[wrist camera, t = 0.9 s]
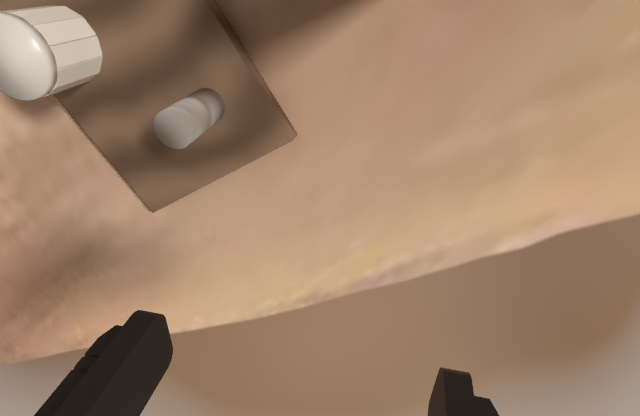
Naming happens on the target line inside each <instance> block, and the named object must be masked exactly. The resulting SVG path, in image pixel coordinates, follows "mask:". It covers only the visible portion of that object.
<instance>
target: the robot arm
mask: <svg viewBox="0 0 640 416" xmlns="http://www.w3.org/2000/svg"><path fill="white" fill-rule="evenodd" d="M172 354H173V346H172V342H171V338H170V334H169V330H168V326H167V322H166V318H165V316H164V315H162V314H158V313H152V312H147V311H142V310H138V311H136V312H134V313H133V314H132V315H131V317H130V318H129V319H128V320H127V322H126V323H125V324H124V325H123V326H118V325H116V326H114V327H113V328H111V329H110V330H109V331H107V332H106V333H104V334H103V335H102V336H100V337H99V338H98V339H97V340H96V341H95V342H94V344H93V345H92V346H91V347H90V348H89V350H88V351H87V352H86V353H85V356H84V357H82V358H81V359H80V361H79V362H78V363H77V364H76V366H75V367H74V370H71V372H70V373H69V374H68V375H67V376H66V378H65V379H64V380H63V381H62V382H61V384H60V385H59V386H58V387H57V389H56V390H55V391H54V392H53V393H52V394H51V396H50V397H49V398H48V400H47V401H46V402H45V403H44V404H43V406H42V407H41V408H40V409H39V410H38V412H37V413H36V414H35V415H34V416H140V414H141V412H142V411H143V409H144V407H145V406H146V404H147V402H148V400H149V399H150V397H151V395H152V394H153V392H154V390H155V389H156V387H157V385H158V384H159V382H160V380H161V379H162V377H163V375H164V374H165V372H166V370H167V369H168V367H169V364H170V362H171V359H172ZM428 416H499V415H498V413H497V411H496V409H495V408H494V406H493V404H492V402H491V401H490V399H487V398H482V397H477V396H474V393H473V385H472V379H471V375H470V374H469V373H468V372H462V371H457V370H451V369H446V368H440V369H439V372H438V375H437V378H436V382H435V385H434V388H433V391H432V394H431V398H430V401H429V408H428Z"/></svg>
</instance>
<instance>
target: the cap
mask: <svg viewBox="0 0 640 416" xmlns="http://www.w3.org/2000/svg"><path fill="white" fill-rule="evenodd" d="M82 17H83V16H81V15H79V14H78V13H76V12H74V11H73V10H71V9H69V8H68V7H66V6H42V7H33V8H25V9H16V10H7V11H0V91H2V92H3V93H5V94H7V95H8V96H10V97H13V98H15V99H19V100H25V101H28V100H34V99H37V98H40V97H46V96H49V95H52V94H55V93H58V92H60V91H63V90H66V89H69V88H71V87H74V86H77V85H80V84H83V83H85V82H88V81H90V80H91V79H92V78H93V77H95V76H96V75H97V74H98V73H99V72H100V68H101V63H102V58H103V56H102V55H103V54H102V51H101V47H100V44H99V40H98V37H97V36H96V33H95V32H94V31H93V29H92V28H91V27H90V25H89V24H88V23H87V21H86V20H85V19H84V17H83V18H82Z"/></svg>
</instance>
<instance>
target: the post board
mask: <svg viewBox="0 0 640 416" xmlns="http://www.w3.org/2000/svg"><path fill="white" fill-rule="evenodd" d="M42 6H66V7H68V8H69V9H71V10H73V11H74V12H76V13H78V14H79V15H81V16H83V17H84V19H85V20H86V21H87V23H88V24H89V25H90V27H91V28H92V29H93V31H94V32H95V33H96V36H97V37H98V40H99V44H100V47H101V51H102V54H103V55H102V56H103V58H102V63H101V68H100V72H99V73H98V74H97V75H96V76H95V77H93V78H92V79H91V80H90V81H88V82H85V83H83V84H80V85H77V86H74V87H71V88H69V89H66V90H63V91H60V92H58V93H55V94H54V95H55V97H56V98H57V99H58V100H59V101H60V103H61V104H62V105H63V106H64V107H65V108H66V110H67V111H68V112H69V113H70V114H71V116H72V117H73V118H74V119H75V120H76V122H77V123H78V124H79V125H80V126H81V128H82V129H83V130H84V131H85V132H86V134H87V135H88V136H89V137H90V138H91V140H92V141H93V142H94V143H95V144H96V146H97V147H98V148H99V149H100V150H101V152H102V153H103V154H104V155H105V156H106V157H107V159H108V160H109V161H110V162H111V163H112V165H113V166H114V167H115V168H116V169H117V171H118V172H119V173H120V174H121V175H122V177H123V178H124V179H125V180H126V181H127V183H128V184H129V185H130V186H131V187H132V189H133V190H134V191H135V192H136V193H137V195H138V196H139V197H140V198H141V199H142V201H143V202H144V203H145V204H146V205H147V206H148V208H149V209H150V210H151V211H152V212H153V213H154V212H155V211H157V210H159V209H161V208H163V207H165V206H167V205H169V204H171V203H173V202H175V201H177V200H179V199H181V198H183V197H184V196H186V195H188V194H190V193H192V192H194V191H196V190H198V189H200V188H202V187H204V186H206V185H208V184H210V183H212V182H213V181H215V180H217V179H219V178H221V177H223V176H225V175H227V174H229V173H231V172H233V171H235V170H237V169H239V168H240V167H242V166H244V165H246V164H248V163H250V162H252V161H254V160H256V159H258V158H260V157H262V156H264V155H266V154H268V153H269V152H271V151H273V150H275V149H277V148H279V147H281V146H283V145H285V144H287V143H289V142H291V141H293V140H294V138H295V137H296V135H297V133H296V131H295V130H294V128H293V126H292V125H291V123H290V122H289V120H288V118H287V117H286V115H285V113H284V112H283V110H282V109H281V107H280V105H279V104H278V102H277V101H276V99H275V97H274V96H273V94H272V92H271V91H270V89H269V88H268V86H267V84H266V83H265V81H264V79H263V78H262V76H261V75H260V73H259V71H258V70H257V68H256V66H255V65H254V63H253V62H252V60H251V58H250V57H249V55H248V53H247V52H246V50H245V49H244V47H243V45H242V44H241V42H240V40H239V39H238V37H237V36H236V34H235V32H234V31H233V29H232V27H231V26H230V24H229V23H228V21H227V19H226V18H225V16H224V14H223V13H222V11H221V10H220V8H219V6H218V5H217V3H216V1H215V0H0V11H7V10H16V9H25V8H33V7H42ZM83 17H82V18H83Z"/></svg>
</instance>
